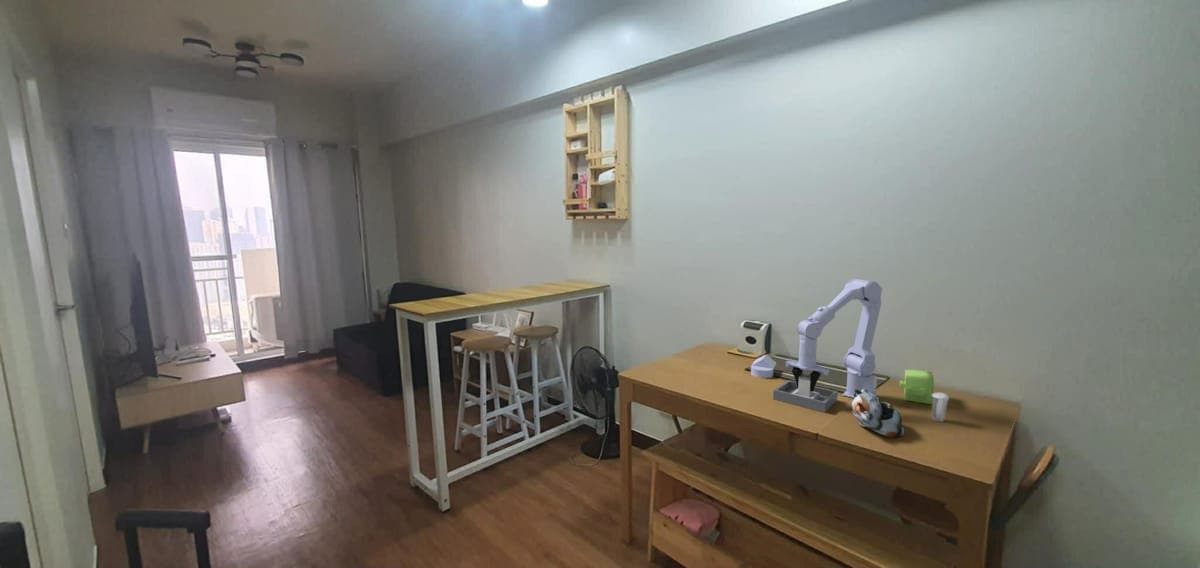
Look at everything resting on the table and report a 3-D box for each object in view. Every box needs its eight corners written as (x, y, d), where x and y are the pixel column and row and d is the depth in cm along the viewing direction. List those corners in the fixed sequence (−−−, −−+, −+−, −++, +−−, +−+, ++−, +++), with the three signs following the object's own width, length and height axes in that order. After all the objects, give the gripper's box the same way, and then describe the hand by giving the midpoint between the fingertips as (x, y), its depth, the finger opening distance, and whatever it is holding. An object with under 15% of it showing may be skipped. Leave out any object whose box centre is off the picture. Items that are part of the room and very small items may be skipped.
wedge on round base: (755, 367, 206) (748, 376, 195) (755, 352, 205) (749, 360, 194) (776, 370, 201) (771, 379, 190) (776, 355, 200) (771, 364, 189)
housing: (837, 400, 168) (837, 391, 167) (824, 412, 158) (825, 403, 157) (787, 388, 180) (788, 380, 179) (773, 399, 170) (773, 390, 169)
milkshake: (927, 414, 155) (929, 386, 154) (946, 419, 152) (949, 390, 150) (925, 419, 152) (928, 390, 150) (946, 423, 148) (949, 394, 147)
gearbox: (898, 388, 181) (899, 364, 180) (929, 391, 175) (930, 367, 174) (900, 403, 165) (900, 377, 164) (933, 407, 160) (934, 381, 159)
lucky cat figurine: (906, 442, 136) (887, 404, 134) (862, 446, 143) (844, 410, 141) (903, 411, 148) (886, 375, 146) (863, 416, 155) (846, 382, 153)
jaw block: (813, 394, 169) (814, 376, 168) (809, 397, 166) (810, 378, 165) (801, 391, 171) (802, 373, 170) (797, 394, 168) (798, 376, 167)
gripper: (783, 352, 168) (781, 387, 170) (825, 360, 158) (822, 397, 160) (790, 347, 173) (788, 382, 175) (831, 355, 163) (829, 391, 165)
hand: (805, 389), depth 168 cm, fingers closed on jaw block, 4 cm apart
